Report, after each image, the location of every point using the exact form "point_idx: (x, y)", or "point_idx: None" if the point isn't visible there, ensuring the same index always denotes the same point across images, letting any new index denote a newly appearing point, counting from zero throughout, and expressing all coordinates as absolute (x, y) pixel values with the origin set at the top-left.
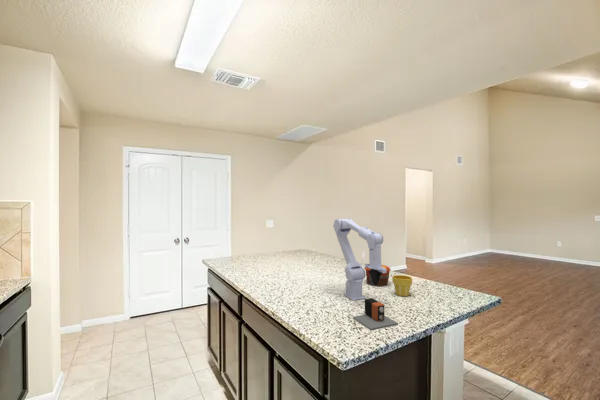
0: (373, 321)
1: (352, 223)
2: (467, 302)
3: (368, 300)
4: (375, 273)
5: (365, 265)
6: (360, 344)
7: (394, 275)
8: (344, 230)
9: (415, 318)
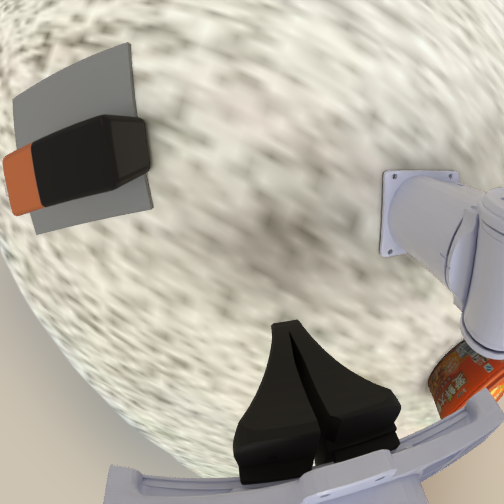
0: (54, 130)
1: None
2: (214, 466)
3: (69, 134)
4: (238, 435)
5: (493, 410)
6: None
7: None
8: None
9: (93, 327)
